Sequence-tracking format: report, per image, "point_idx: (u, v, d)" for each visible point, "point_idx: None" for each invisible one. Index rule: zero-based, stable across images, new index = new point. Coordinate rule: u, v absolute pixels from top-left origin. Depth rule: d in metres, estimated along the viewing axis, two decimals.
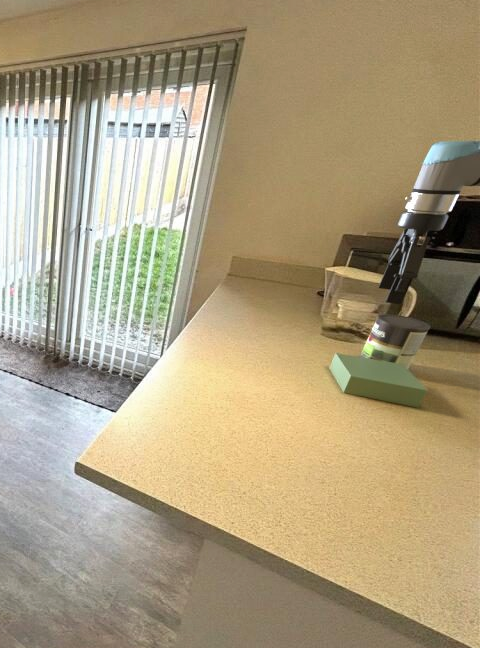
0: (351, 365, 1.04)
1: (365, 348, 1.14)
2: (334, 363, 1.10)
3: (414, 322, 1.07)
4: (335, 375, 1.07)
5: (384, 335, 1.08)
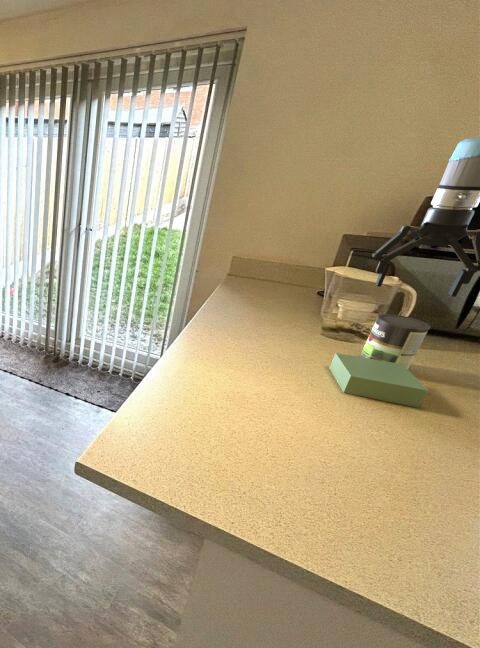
0: (351, 365, 1.04)
1: (365, 348, 1.14)
2: (334, 363, 1.10)
3: (414, 322, 1.07)
4: (335, 375, 1.07)
5: (384, 335, 1.08)
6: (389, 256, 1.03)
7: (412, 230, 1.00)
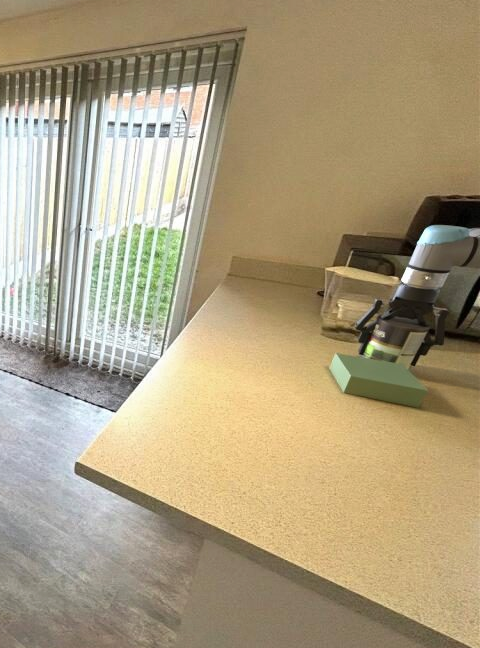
0: (351, 365, 1.04)
1: (365, 348, 1.14)
2: (334, 363, 1.10)
3: (414, 322, 1.07)
4: (335, 375, 1.07)
5: (384, 335, 1.08)
6: (369, 328, 1.12)
7: (384, 303, 1.09)
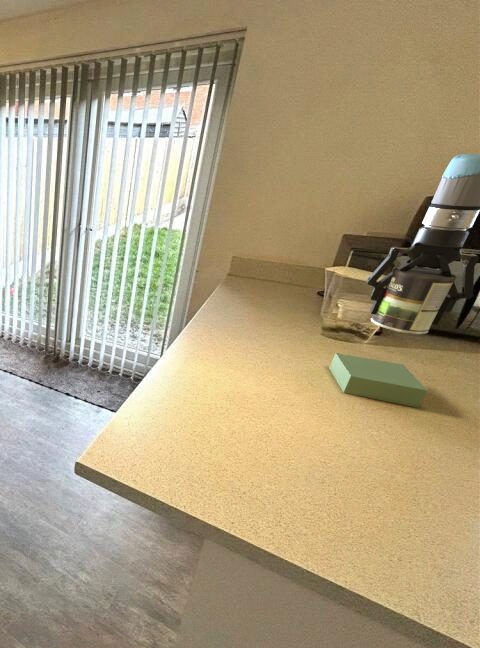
0: (351, 365, 1.04)
1: (379, 306, 0.99)
2: (334, 363, 1.10)
3: (437, 273, 0.92)
4: (335, 375, 1.07)
5: (402, 289, 0.93)
6: (383, 282, 0.97)
7: (402, 252, 0.93)
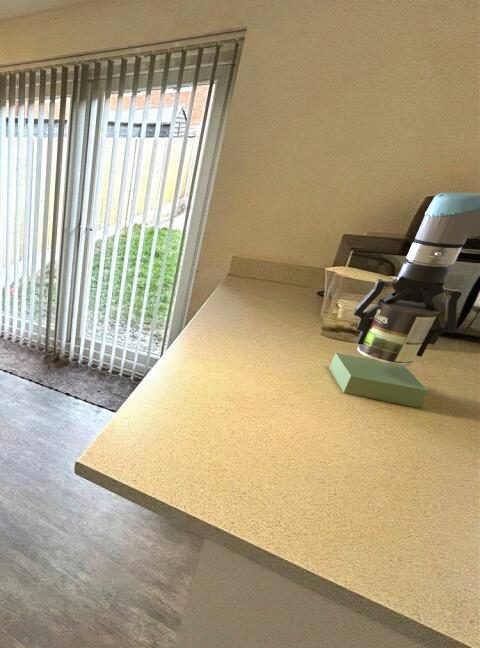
0: (351, 365, 1.04)
1: (365, 336, 1.00)
2: (334, 363, 1.10)
3: (421, 306, 0.94)
4: (335, 375, 1.07)
5: (387, 321, 0.95)
6: (369, 313, 0.98)
7: (387, 285, 0.95)
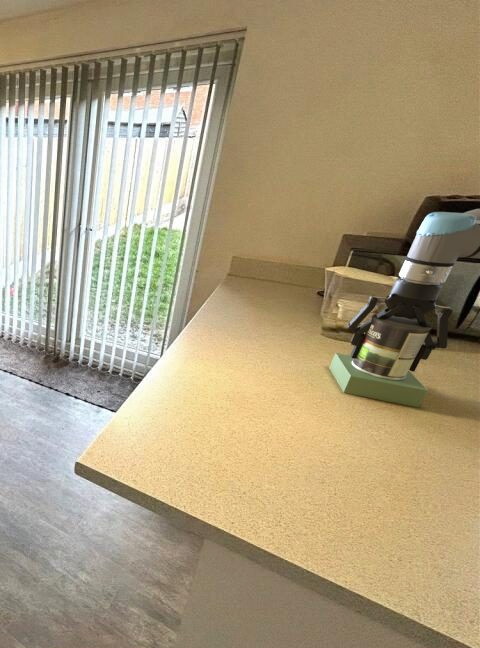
0: (351, 365, 1.04)
1: (359, 351, 1.02)
2: (334, 363, 1.10)
3: (414, 322, 0.95)
4: (335, 375, 1.07)
5: (380, 336, 0.96)
6: (362, 328, 1.00)
7: (380, 301, 0.97)
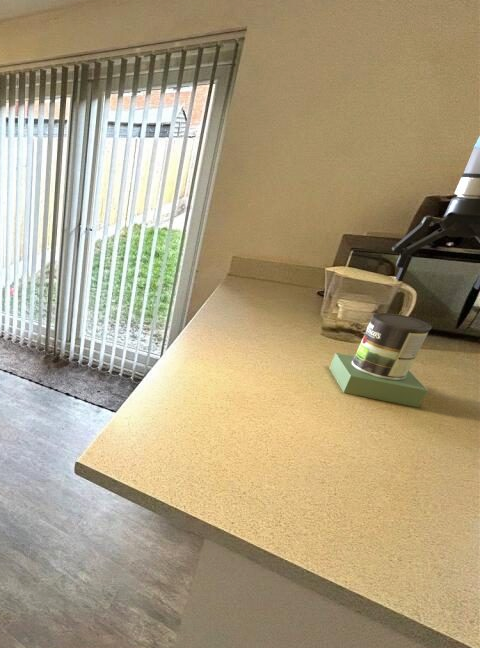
0: (351, 365, 1.04)
1: (359, 351, 1.02)
2: (334, 363, 1.10)
3: (414, 322, 0.95)
4: (335, 375, 1.07)
5: (380, 336, 0.96)
6: (410, 249, 0.99)
7: (435, 221, 0.95)
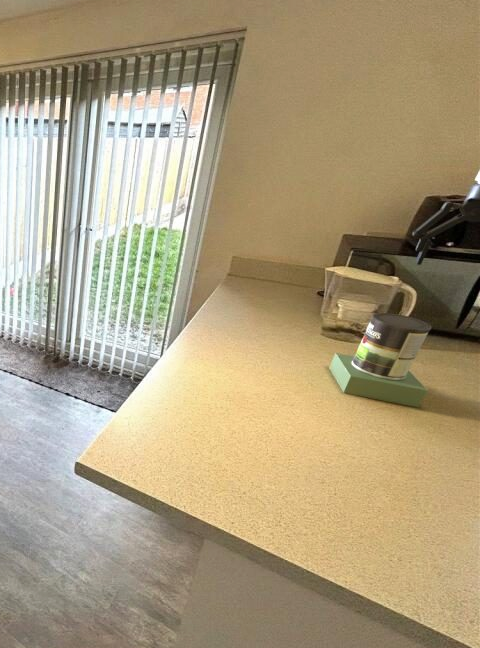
0: (351, 365, 1.04)
1: (359, 351, 1.02)
2: (334, 363, 1.10)
3: (413, 322, 0.96)
4: (335, 375, 1.07)
5: (380, 336, 0.96)
6: (430, 234, 1.04)
7: (455, 207, 1.00)
